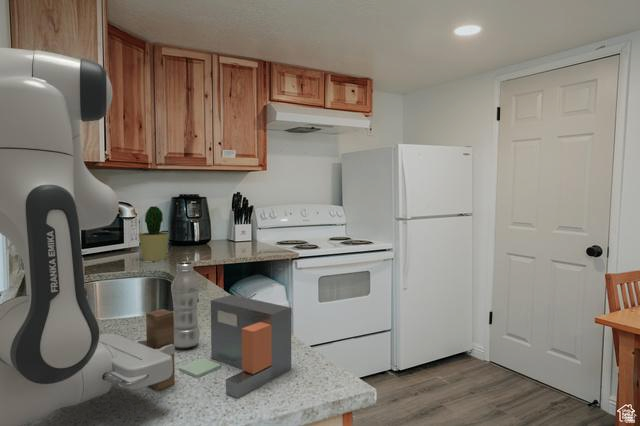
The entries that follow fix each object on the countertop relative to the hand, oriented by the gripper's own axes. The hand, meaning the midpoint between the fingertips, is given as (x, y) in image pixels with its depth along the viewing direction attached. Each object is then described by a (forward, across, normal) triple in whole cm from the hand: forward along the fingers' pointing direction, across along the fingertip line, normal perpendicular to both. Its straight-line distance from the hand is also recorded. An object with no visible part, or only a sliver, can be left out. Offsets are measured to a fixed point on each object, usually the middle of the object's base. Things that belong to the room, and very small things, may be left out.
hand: (164, 344), depth 79 cm
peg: (-1, 0, +8) cm, 8 cm away
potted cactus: (+81, +132, +8) cm, 155 cm away
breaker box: (+12, -6, +7) cm, 15 cm away
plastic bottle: (+14, +13, +8) cm, 21 cm away
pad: (+8, 0, +8) cm, 11 cm away
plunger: (+11, -14, +5) cm, 18 cm away
